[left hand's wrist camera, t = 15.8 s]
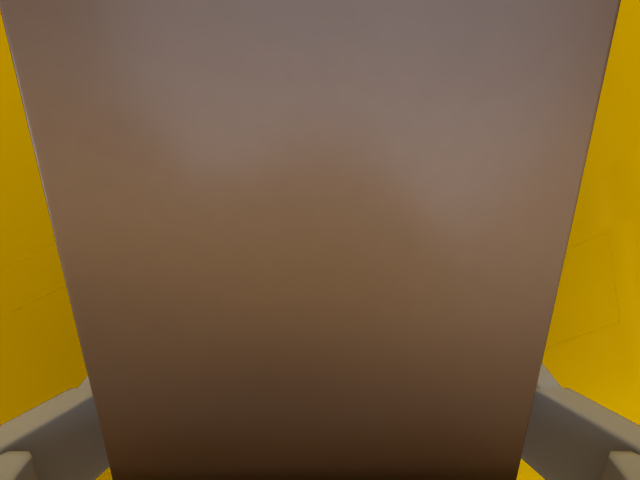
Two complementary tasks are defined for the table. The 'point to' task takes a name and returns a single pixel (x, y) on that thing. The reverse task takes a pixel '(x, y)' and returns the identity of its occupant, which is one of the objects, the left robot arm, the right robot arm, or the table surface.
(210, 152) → the long box
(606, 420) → the left robot arm
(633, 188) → the table surface
